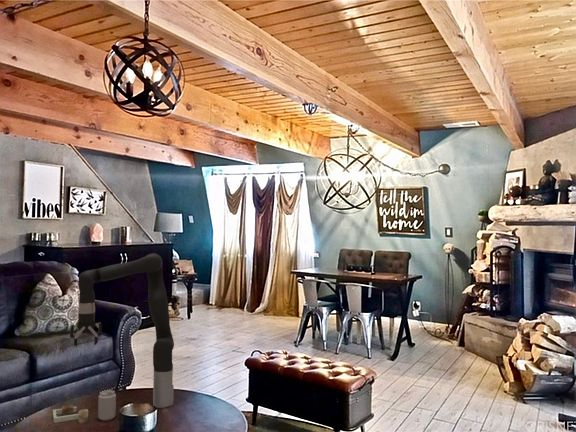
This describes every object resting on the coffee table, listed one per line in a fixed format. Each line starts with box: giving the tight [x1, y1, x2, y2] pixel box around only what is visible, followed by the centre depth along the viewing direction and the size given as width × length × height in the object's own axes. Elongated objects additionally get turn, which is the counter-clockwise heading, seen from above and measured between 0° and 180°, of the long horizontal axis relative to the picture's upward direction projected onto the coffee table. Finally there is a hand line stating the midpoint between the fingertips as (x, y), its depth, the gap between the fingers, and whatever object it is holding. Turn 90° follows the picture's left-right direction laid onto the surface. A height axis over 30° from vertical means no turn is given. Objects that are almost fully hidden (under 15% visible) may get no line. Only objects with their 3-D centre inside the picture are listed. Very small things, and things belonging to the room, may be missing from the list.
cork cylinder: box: [77, 408, 89, 425], centre depth 218 cm, size 4×4×5 cm
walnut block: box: [61, 404, 74, 416], centre depth 224 cm, size 4×4×4 cm
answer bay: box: [52, 406, 79, 424], centre depth 224 cm, size 10×11×2 cm
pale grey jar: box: [97, 389, 117, 422], centre depth 223 cm, size 8×8×12 cm
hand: (85, 345), depth 236 cm, fingers open, 8 cm apart
